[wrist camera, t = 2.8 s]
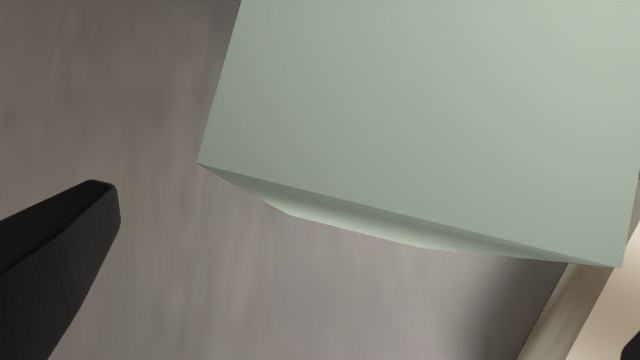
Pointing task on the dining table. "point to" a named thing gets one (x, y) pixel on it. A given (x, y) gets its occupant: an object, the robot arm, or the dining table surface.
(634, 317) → the plinth
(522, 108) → the pillar
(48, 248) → the robot arm
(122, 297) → the dining table surface
